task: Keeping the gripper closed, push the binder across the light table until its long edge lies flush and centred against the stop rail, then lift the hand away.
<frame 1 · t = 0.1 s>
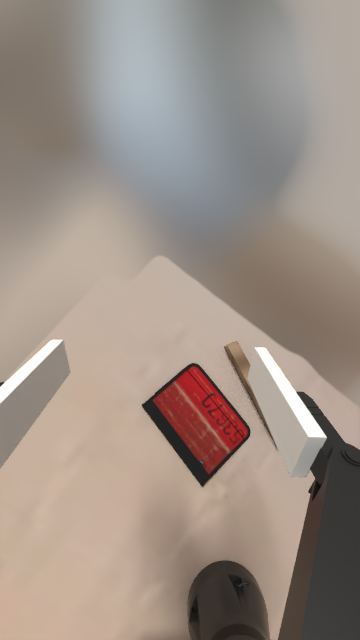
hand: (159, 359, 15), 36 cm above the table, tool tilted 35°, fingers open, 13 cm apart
binder: (197, 416, 48), on the table
stop rail: (251, 388, 49), on the table
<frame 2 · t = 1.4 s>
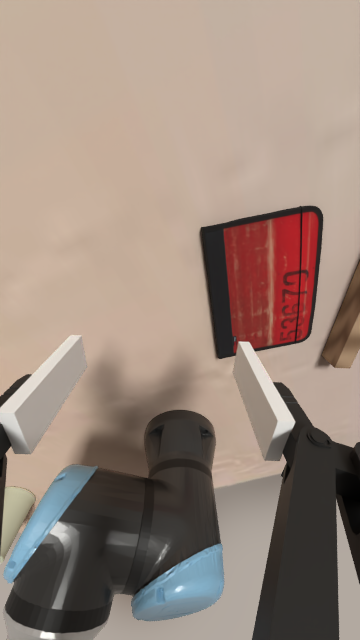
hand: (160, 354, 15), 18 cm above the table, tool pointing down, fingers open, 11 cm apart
can: (18, 495, 57), on the table
binder: (259, 288, 32), on the table
stop rail: (354, 293, 32), on the table
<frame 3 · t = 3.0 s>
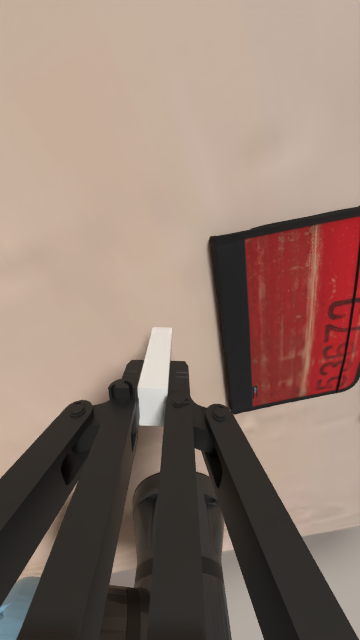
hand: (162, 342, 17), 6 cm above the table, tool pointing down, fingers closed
binder: (290, 320, 23), on the table
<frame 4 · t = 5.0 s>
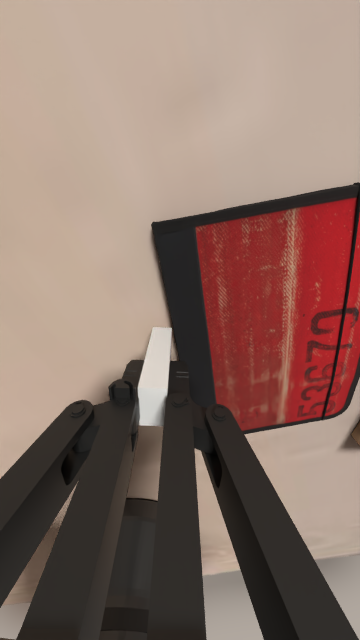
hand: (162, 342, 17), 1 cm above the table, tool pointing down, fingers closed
binder: (265, 333, 19), on the table
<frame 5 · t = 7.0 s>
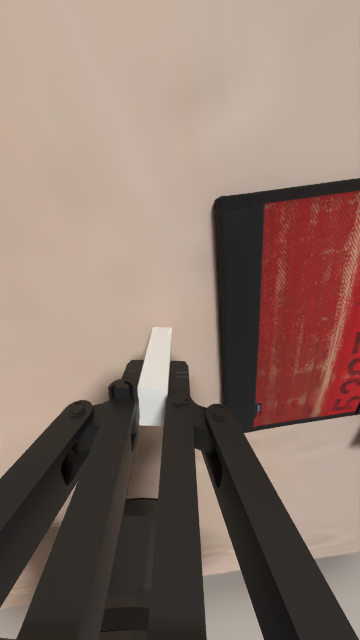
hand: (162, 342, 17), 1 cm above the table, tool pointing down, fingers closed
binder: (309, 323, 18), on the table
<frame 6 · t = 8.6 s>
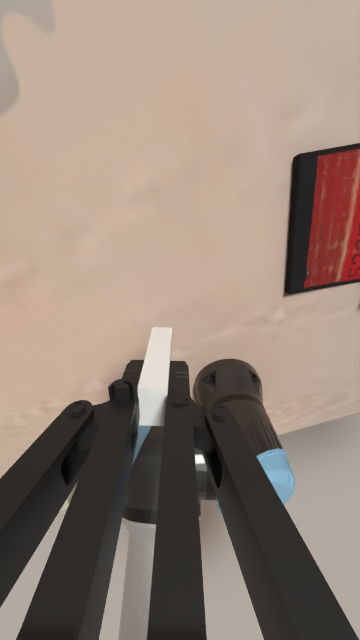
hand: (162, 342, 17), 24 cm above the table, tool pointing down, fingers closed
binder: (334, 224, 35), on the table
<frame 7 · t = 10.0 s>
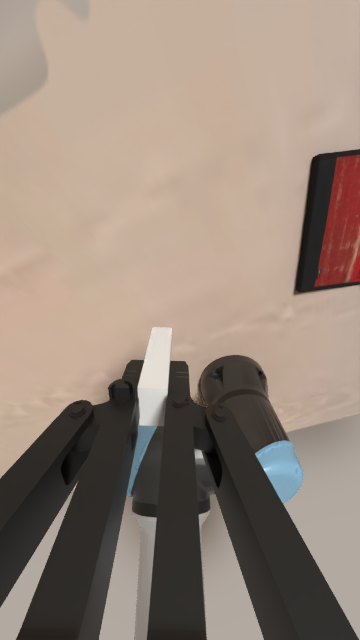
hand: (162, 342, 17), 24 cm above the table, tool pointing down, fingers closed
binder: (347, 225, 36), on the table
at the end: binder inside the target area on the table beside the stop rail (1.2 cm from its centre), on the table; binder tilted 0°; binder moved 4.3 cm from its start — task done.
